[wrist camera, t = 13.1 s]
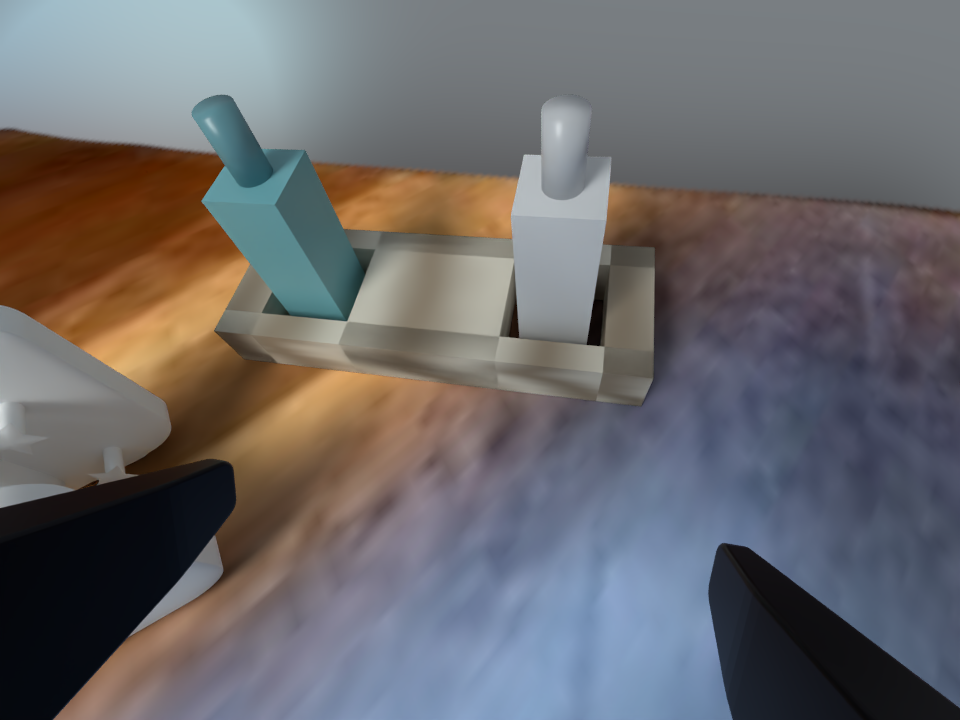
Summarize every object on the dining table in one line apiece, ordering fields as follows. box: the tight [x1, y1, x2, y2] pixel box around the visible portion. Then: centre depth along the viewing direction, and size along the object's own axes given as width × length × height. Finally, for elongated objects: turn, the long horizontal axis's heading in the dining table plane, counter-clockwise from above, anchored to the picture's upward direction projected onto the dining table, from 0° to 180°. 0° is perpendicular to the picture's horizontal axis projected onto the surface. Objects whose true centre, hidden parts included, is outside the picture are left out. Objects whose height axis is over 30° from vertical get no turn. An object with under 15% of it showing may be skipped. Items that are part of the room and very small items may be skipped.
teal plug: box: [192, 95, 365, 321], centre depth 23 cm, size 3×3×13 cm
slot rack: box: [214, 229, 655, 406], centre depth 26 cm, size 22×8×3 cm, turn 79°
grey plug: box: [511, 95, 611, 345], centre depth 21 cm, size 3×3×13 cm
